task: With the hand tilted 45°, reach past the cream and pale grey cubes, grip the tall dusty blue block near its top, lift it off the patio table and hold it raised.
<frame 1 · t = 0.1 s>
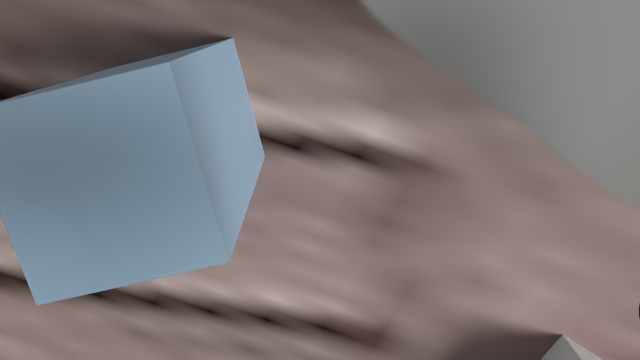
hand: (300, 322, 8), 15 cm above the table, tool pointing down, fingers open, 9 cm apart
dusty blue block: (190, 112, 23), on the table
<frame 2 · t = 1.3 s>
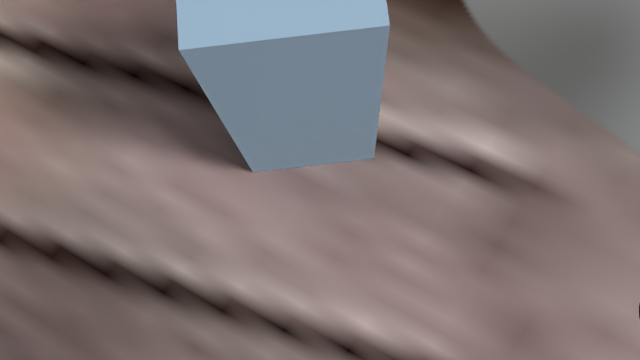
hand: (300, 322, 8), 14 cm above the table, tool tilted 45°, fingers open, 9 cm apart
dusty blue block: (307, 108, 23), on the table
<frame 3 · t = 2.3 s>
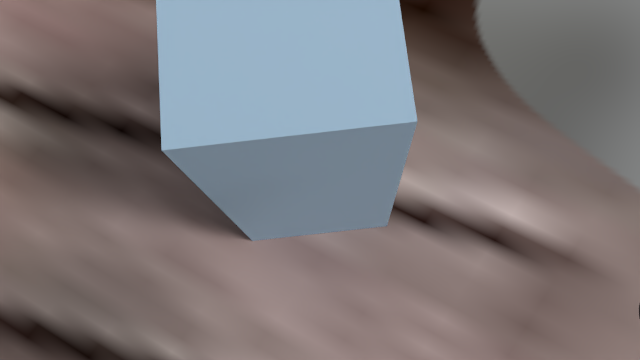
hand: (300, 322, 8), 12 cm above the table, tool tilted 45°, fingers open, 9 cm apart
dusty blue block: (312, 168, 21), on the table
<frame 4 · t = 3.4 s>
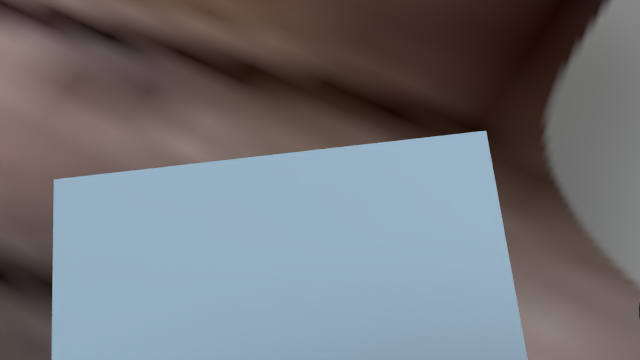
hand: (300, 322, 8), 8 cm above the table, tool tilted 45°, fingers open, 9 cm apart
dusty blue block: (328, 356, 15), on the table
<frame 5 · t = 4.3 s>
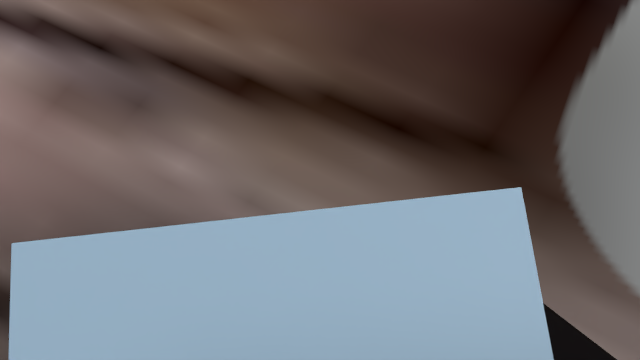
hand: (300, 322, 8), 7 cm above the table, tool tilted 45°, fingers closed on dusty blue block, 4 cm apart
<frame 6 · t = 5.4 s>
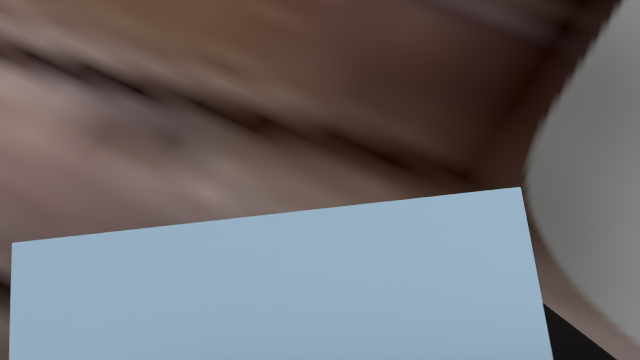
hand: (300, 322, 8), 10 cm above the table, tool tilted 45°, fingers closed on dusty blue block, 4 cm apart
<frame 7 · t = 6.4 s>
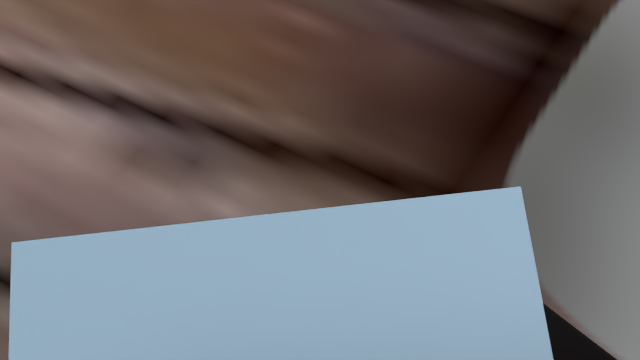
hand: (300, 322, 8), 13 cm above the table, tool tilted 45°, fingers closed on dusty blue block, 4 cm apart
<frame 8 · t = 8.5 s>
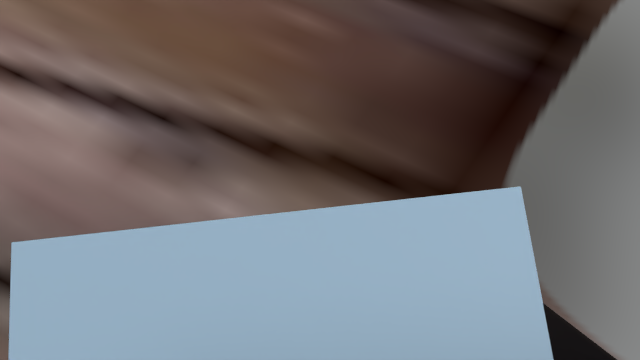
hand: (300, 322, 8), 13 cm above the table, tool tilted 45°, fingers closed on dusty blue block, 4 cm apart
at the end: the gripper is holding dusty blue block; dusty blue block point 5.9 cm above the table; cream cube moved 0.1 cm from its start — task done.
